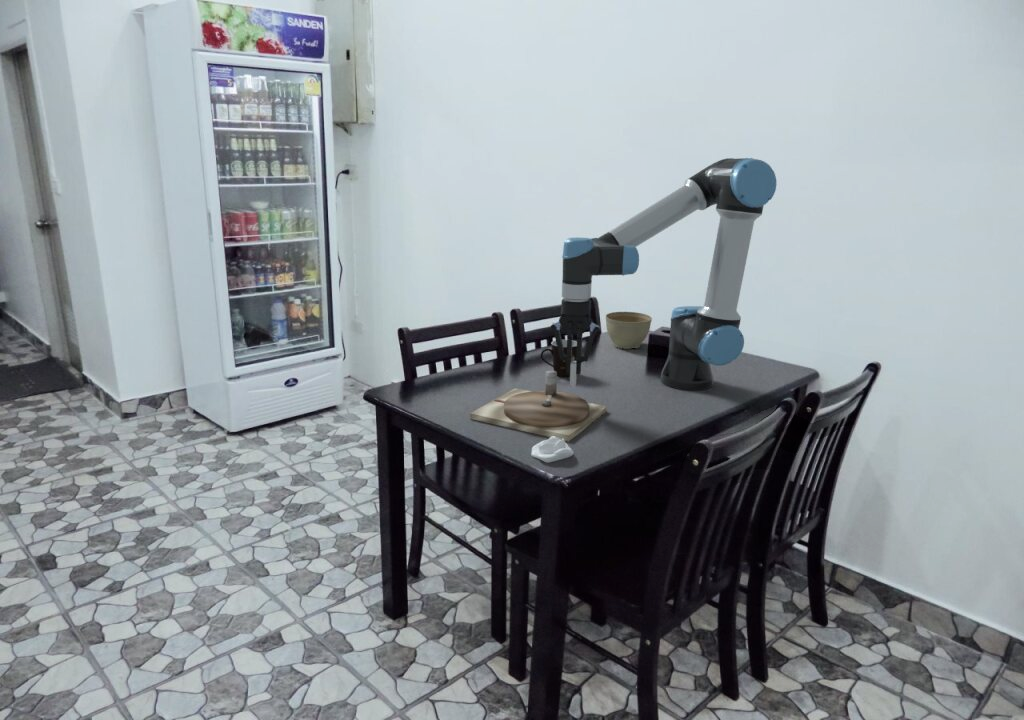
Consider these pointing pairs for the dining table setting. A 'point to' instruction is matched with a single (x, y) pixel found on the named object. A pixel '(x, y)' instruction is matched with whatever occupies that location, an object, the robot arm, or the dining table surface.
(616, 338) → the planter bowl
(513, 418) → the wheel
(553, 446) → the crumpled white cloth
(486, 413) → the dial board
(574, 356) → the coffee mug
